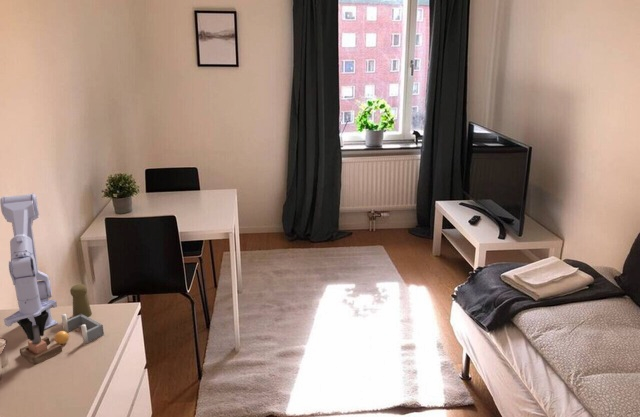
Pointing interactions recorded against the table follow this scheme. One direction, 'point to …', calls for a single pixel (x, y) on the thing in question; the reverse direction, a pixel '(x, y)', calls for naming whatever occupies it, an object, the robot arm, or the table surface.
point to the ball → (61, 337)
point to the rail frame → (42, 355)
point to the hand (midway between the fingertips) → (35, 337)
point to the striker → (36, 342)
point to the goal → (83, 326)
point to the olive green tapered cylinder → (80, 301)
